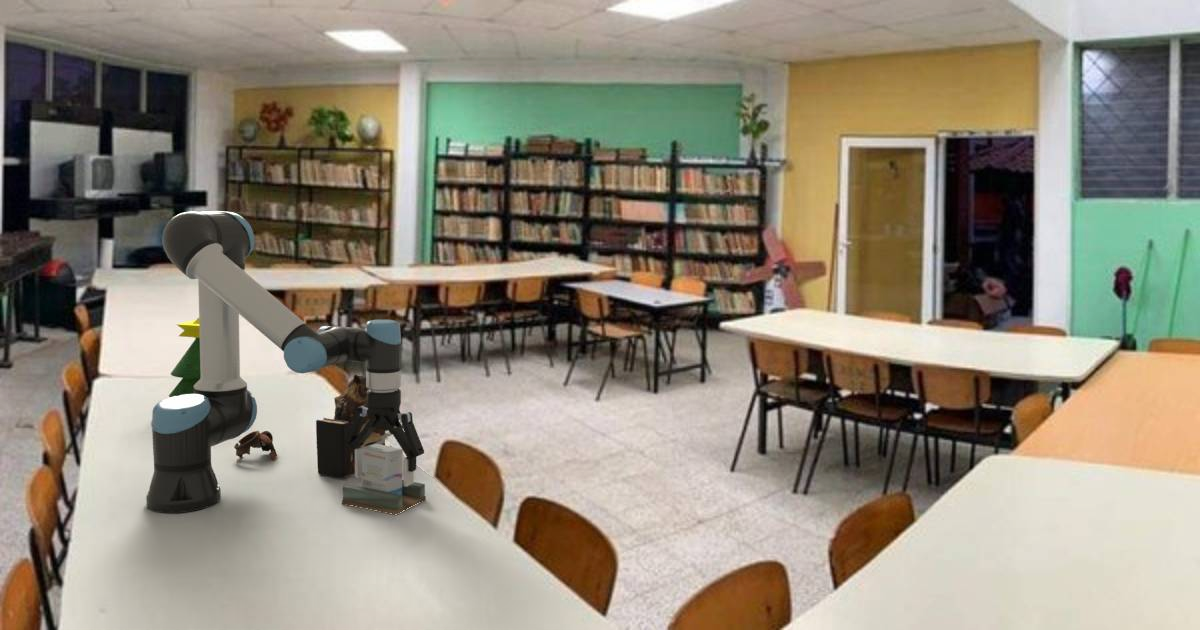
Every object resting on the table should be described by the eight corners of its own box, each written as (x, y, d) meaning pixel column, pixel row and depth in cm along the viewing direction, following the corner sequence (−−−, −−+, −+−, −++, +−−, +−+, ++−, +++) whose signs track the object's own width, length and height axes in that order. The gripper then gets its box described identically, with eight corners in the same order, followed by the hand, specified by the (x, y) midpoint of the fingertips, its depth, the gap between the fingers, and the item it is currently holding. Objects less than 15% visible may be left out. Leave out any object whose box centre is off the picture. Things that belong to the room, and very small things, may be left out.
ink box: (403, 498, 204) (403, 448, 203) (388, 504, 200) (388, 453, 198) (376, 491, 209) (376, 441, 207) (360, 496, 204) (360, 446, 203)
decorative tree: (213, 423, 267) (210, 323, 263) (155, 418, 270) (151, 320, 266) (249, 408, 286) (247, 315, 282) (195, 404, 289) (192, 312, 285)
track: (396, 515, 196) (396, 497, 196) (341, 504, 202) (341, 487, 202) (425, 500, 206) (425, 483, 206) (372, 489, 212) (372, 473, 212)
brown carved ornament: (272, 466, 230) (254, 440, 227) (242, 479, 232) (224, 454, 229) (289, 442, 241) (272, 417, 238) (260, 454, 243) (243, 430, 240)
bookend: (343, 481, 218) (342, 381, 214) (312, 473, 223) (311, 375, 220) (387, 467, 230) (386, 372, 227) (357, 459, 236) (356, 366, 232)
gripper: (439, 392, 199) (439, 483, 202) (350, 379, 209) (351, 467, 212) (420, 398, 192) (419, 493, 195) (328, 385, 202) (329, 476, 205)
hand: (384, 480), depth 204 cm, fingers open, 13 cm apart
